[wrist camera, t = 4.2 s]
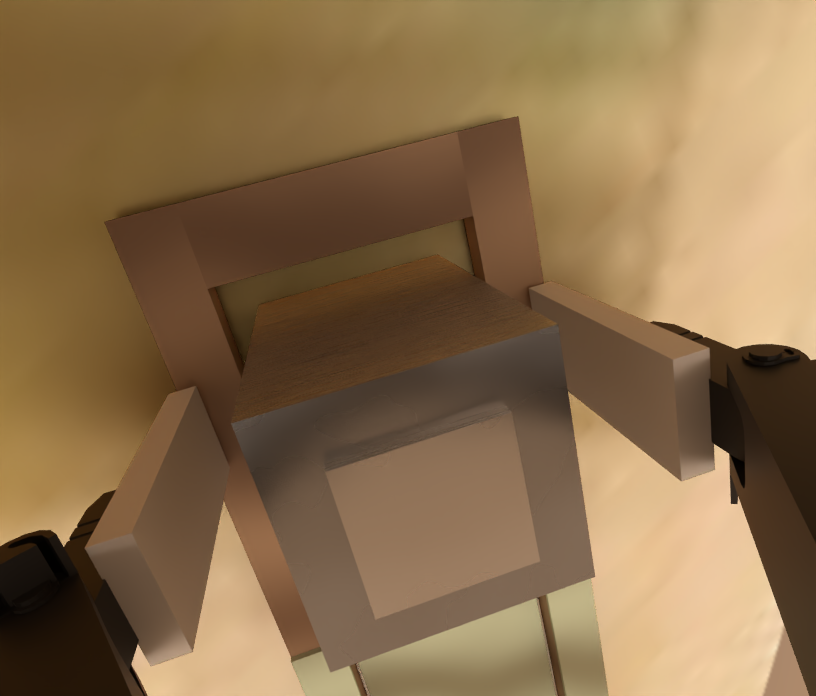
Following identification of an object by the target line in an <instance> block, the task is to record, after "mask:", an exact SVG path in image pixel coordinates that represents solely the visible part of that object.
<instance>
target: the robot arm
mask: <svg viewBox="0 0 816 696" xmlns="http://www.w3.org/2000/svg"><path fill="white" fill-rule="evenodd" d="M529 294H530V300H531V306H532V309H533V310H534V311H536V312H538V313H540V314H541V315H543V316H545V317H546V318H548V319H550V320H552V321H553V322H555V323H557V324H558V328H559V334H560V341H561V348H562V355H563V362H564V369H565V375H566V382H567V389H568V391H569V392H570V393H571V394H572V395H574V396H575V397H576V398H577V399H579V400H580V401H581V402H582V403H584V404H585V405H586V406H587V407H589V408H590V409H591V410H593V411H594V412H595V413H596V414H598V415H599V416H600V417H601V418H603V419H604V420H605V421H606V422H608V423H609V424H610V425H611V426H613V427H614V428H615V429H616V430H618V431H619V432H620V433H621V434H623V435H624V436H625V437H626V438H628V439H629V440H630V441H631V442H633V443H634V444H635V445H636V446H638V447H639V448H640V449H641V450H643V451H644V452H645V453H646V454H648V455H649V456H650V457H651V458H653V459H654V460H655V461H656V462H658V463H659V464H660V465H662V466H663V467H664V468H665V469H667V470H668V471H669V472H670V473H672V474H673V475H674V476H675V477H677V478H678V479H679V480H680V481H684V480H687V479H690V478H693V477H696V476H698V475H701V474H704V473H707V472H710V471H713V470H715V463H714V444H715V445H717V446H718V447H720V448H721V449H723V450H724V451H726V452H728V453H729V457H730V488H731V504H737V502H738V496H739V499H740V502H741V505H742V508H743V510H744V513H745V516H746V519H747V522H748V524H749V527H750V530H751V533H752V536H753V539H754V541H755V544H756V547H757V550H758V553H759V555H760V558H761V561H762V564H763V567H764V569H765V572H766V575H767V578H768V581H769V583H770V586H771V589H772V592H773V595H774V597H775V600H776V603H777V606H778V609H779V611H780V614H781V617H782V620H783V623H784V625H785V628H786V631H787V634H788V637H789V639H790V642H791V645H792V648H793V650H794V654H795V656H796V659H797V662H798V665H799V668H800V670H801V673H802V676H803V679H804V681H805V684H806V687H807V690H808V693H809V696H816V360H810V359H809V358H808V356H807V355H806V354H804V353H803V352H801V351H800V350H798V349H795V348H791V347H788V346H782V345H774V344H758V345H751V346H744V347H741V348H738V349H734V348H732V347H729V346H727V345H724V344H722V343H719V342H717V341H714V340H712V339H710V338H707V337H704V338H703V336H702V335H700V334H697V333H695V332H690V330H687V329H685V328H682V327H680V326H677V325H675V324H668V323H662V322H655V321H653V322H647V321H645V320H642V319H640V318H638V317H635V316H633V315H631V314H628V313H626V312H624V311H621V310H619V309H617V308H614V307H612V306H610V305H607V304H605V303H602V302H600V301H598V300H595V299H593V298H591V297H588V296H586V295H584V294H581V293H579V292H577V291H574V290H572V289H570V288H567V287H565V286H563V285H560V284H558V283H555V282H553V281H551V282H547V283H544V284H541V285H537V286H534V287H530V288H529ZM229 470H230V467H229V464H228V462H227V460H226V457H225V455H224V452H223V450H222V448H221V445H220V443H219V440H218V438H217V435H216V433H215V431H214V428H213V426H212V423H211V421H210V419H209V416H208V414H207V411H206V409H205V406H204V404H203V402H202V399H201V397H200V394H199V392H198V390H197V387H196V386H194V387H190V388H187V389H183V390H180V391H177V392H173V393H170V394H168V396H167V398H166V399H165V401H164V403H163V405H162V407H161V409H160V410H159V412H158V414H157V416H156V418H155V420H154V422H153V423H152V425H151V427H150V429H149V431H148V433H147V434H146V436H145V438H144V440H143V442H142V444H141V445H140V447H139V449H138V451H137V453H136V455H135V456H134V458H133V460H132V462H131V464H130V466H129V467H128V469H127V471H126V473H125V475H124V477H123V478H122V480H121V482H120V484H119V486H118V488H117V489H116V490H114V491H110V492H107V493H104V494H103V495H102V496H101V497H100V498H99V499H97V500H96V501H95V502H94V503H93V504H92V505H91V506H90V507H89V508H88V509H87V510H86V511H85V513H84V515H83V516H82V518H81V520H80V521H79V523H78V525H77V527H78V528H75V530H74V531H73V533H72V535H71V536H70V538H69V539H70V541H68V542H67V543H66V545H65V546H64V547H63V545H62V543H61V542H60V540H59V538H58V536H57V535H56V534H55V533H54V532H52V531H51V530H39V531H36V532H32V533H28V534H25V535H22V536H20V537H18V538H16V539H14V540H11V541H9V542H7V543H5V544H4V545H2V546H0V696H147V694H146V691H145V689H144V687H143V685H142V683H141V681H140V679H139V677H138V675H137V674H136V672H135V670H134V669H133V667H132V665H131V663H132V660H133V657H134V654H135V651H136V648H137V645H139V646H140V648H141V650H142V652H143V653H144V655H145V657H146V659H147V661H148V662H149V664H150V666H154V665H156V664H159V663H162V662H165V661H168V660H171V659H174V658H177V657H179V656H182V655H185V654H188V653H191V652H193V648H194V643H195V638H196V633H197V628H198V623H199V618H200V613H201V608H202V603H203V598H204V594H205V589H206V584H207V579H208V574H209V569H210V564H211V559H212V554H213V549H214V544H215V539H216V534H217V529H218V525H219V520H220V515H221V510H222V505H223V500H224V495H225V490H226V485H227V480H228V475H229Z"/></svg>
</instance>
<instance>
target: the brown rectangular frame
mask: <svg viewBox="0 0 816 696" xmlns="http://www.w3.org/2000/svg"><path fill="white" fill-rule="evenodd" d="M460 219H464V222H465V227H466V233H467V238H468V243H469V248H470V253H471V258H472V263H473V268H474V273H475V276H476V277H477V278H479V279H481V280H483V281H484V282H486V283H488V284H489V285H491V286H493V287H495V288H496V289H498V290H500V291H502V292H503V293H505V294H507V295H508V296H510V297H512V298H514V299H515V300H517V301H519V302H521V303H522V304H524V305H526V306H527V307H529V308H531V309H532V306H531V300H530V294H529V288H530V287H534V286H537V285H541V284H544V282H543V275H542V269H541V262H540V255H539V249H538V242H537V236H536V229H535V223H534V216H533V210H532V203H531V196H530V190H529V183H528V177H527V170H526V164H525V157H524V151H523V144H522V137H521V131H520V124H519V118H518V116H517V117H513V118H509V119H505V120H501V121H497V122H493V123H489V124H485V125H481V126H477V127H473V128H469V129H465V130H461V131H458V132H454V133H450V134H446V135H442V136H438V137H434V138H430V139H426V140H422V141H418V142H414V143H411V144H407V145H403V146H399V147H395V148H391V149H387V150H383V151H379V152H375V153H371V154H367V155H364V156H360V157H356V158H352V159H348V160H344V161H340V162H336V163H332V164H328V165H324V166H320V167H317V168H313V169H309V170H305V171H301V172H297V173H293V174H289V175H285V176H281V177H277V178H274V179H270V180H266V181H262V182H258V183H254V184H250V185H246V186H242V187H238V188H234V189H230V190H227V191H223V192H219V193H215V194H211V195H207V196H203V197H199V198H195V199H191V200H187V201H183V202H180V203H176V204H172V205H168V206H164V207H160V208H156V209H152V210H148V211H144V212H140V213H136V214H133V215H129V216H125V217H121V218H117V219H113V220H110V221H106V222H105V225H106V227H107V229H108V232H109V234H110V236H111V239H112V241H113V243H114V246H115V248H116V250H117V253H118V255H119V257H120V260H121V262H122V264H123V267H124V269H125V271H126V274H127V276H128V278H129V281H130V283H131V285H132V288H133V290H134V292H135V295H136V297H137V299H138V302H139V304H140V306H141V309H142V311H143V313H144V316H145V318H146V320H147V323H148V325H149V327H150V330H151V332H152V334H153V337H154V339H155V341H156V344H157V346H158V348H159V351H160V353H161V355H162V357H163V360H164V362H165V364H166V367H167V369H168V371H169V374H170V376H171V378H172V381H173V383H174V385H175V388H176V390H177V391H180V390H183V389H187V388H190V387H194V386H196V387H197V390H198V392H199V394H200V397H201V399H202V402H203V404H204V406H205V409H206V411H207V414H208V416H209V419H210V421H211V423H212V426H213V428H214V431H215V433H216V435H217V438H218V440H219V443H220V445H221V448H222V450H223V452H224V455H225V457H226V460H227V462H228V464H229V467H230V470H229V475H228V480H227V485H226V490H225V495H224V502H225V504H226V507H227V509H228V511H229V514H230V516H231V518H232V521H233V523H234V525H235V528H236V530H237V532H238V535H239V537H240V539H241V542H242V544H243V546H244V549H245V551H246V553H247V556H248V558H249V560H250V563H251V565H252V567H253V570H254V572H255V574H256V577H257V579H258V581H259V584H260V586H261V588H262V590H263V593H264V595H265V597H266V600H267V602H268V604H269V607H270V609H271V611H272V614H273V616H274V618H275V621H276V623H277V625H278V628H279V630H280V632H281V635H282V637H283V639H284V642H285V644H286V646H287V649H288V651H289V653H290V656H291V663H292V665H293V668H294V670H295V672H296V675H297V677H298V679H299V682H300V684H301V686H302V688H303V691H304V693H305V695H306V696H367V694H366V691H365V688H364V686H363V683H362V680H361V678H360V675H359V672H358V670H357V667H356V664H353V665H350V666H348V667H345V668H342V669H339V670H337V671H334V672H331V673H330V670H329V668H328V665H327V663H326V660H325V658H324V655H323V653H322V650H321V648H320V645H319V643H318V640H317V638H316V635H315V633H314V630H313V627H312V625H311V622H310V620H309V617H308V615H307V612H306V610H305V607H304V605H303V602H302V600H301V597H300V595H299V592H298V590H297V587H296V585H295V582H294V580H293V577H292V575H291V572H290V570H289V567H288V565H287V562H286V560H285V557H284V555H283V552H282V550H281V547H280V545H279V542H278V540H277V537H276V535H275V532H274V530H273V527H272V525H271V522H270V520H269V517H268V515H267V512H266V510H265V507H264V505H263V502H262V500H261V497H260V495H259V492H258V490H257V487H256V485H255V482H254V480H253V477H252V475H251V472H250V470H249V467H248V465H247V462H246V460H245V457H244V455H243V452H242V450H241V447H240V445H239V442H238V440H237V437H236V435H235V432H234V430H233V427H232V425H231V421H232V417H233V413H234V409H235V404H236V400H237V396H238V392H239V387H240V383H241V379H242V375H243V370H244V365H243V362H242V359H241V357H240V354H239V351H238V349H237V346H236V343H235V341H234V338H233V335H232V333H231V330H230V327H229V325H228V322H227V319H226V317H225V314H224V311H223V309H222V306H221V303H220V301H219V298H218V295H217V293H216V290H215V287H216V286H220V285H223V284H227V283H231V282H234V281H238V280H242V279H245V278H249V277H253V276H256V275H260V274H263V273H267V272H271V271H274V270H278V269H282V268H285V267H289V266H293V265H296V264H300V263H304V262H307V261H311V260H314V259H318V258H322V257H325V256H329V255H333V254H336V253H340V252H344V251H347V250H351V249H354V248H358V247H362V246H365V245H369V244H373V243H376V242H380V241H384V240H387V239H391V238H395V237H398V236H402V235H405V234H409V233H413V232H416V231H420V230H424V229H427V228H431V227H435V226H438V225H442V224H445V223H449V222H453V221H456V220H460ZM539 602H540V607H541V612H542V617H543V622H544V627H545V632H546V638H547V643H548V648H549V653H550V658H551V663H552V668H553V673H554V678H555V683H556V688H557V693H558V696H609V695H608V688H607V682H606V675H605V668H604V662H603V655H602V649H601V642H600V635H599V629H598V622H597V615H596V609H595V602H594V595H593V589H592V582H591V578H590V579H587V580H585V581H582V582H579V583H576V584H574V585H571V586H568V587H565V588H563V589H560V590H557V591H554V592H552V593H549V594H546V595H543V596H541V597H539ZM359 666H360V669H361V671H362V674H363V677H364V680H365V682H366V685H367V688H368V690H369V693H370V696H556V694H555V689H554V684H553V679H552V674H551V669H550V664H549V659H548V654H547V649H546V644H545V639H544V634H543V629H542V624H541V619H540V614H539V609H538V604H537V599H536V598H535V599H532V600H530V601H527V602H524V603H521V604H518V605H516V606H513V607H510V608H507V609H505V610H502V611H499V612H496V613H494V614H491V615H488V616H485V617H483V618H480V619H477V620H474V621H472V622H469V623H466V624H463V625H461V626H458V627H455V628H452V629H450V630H447V631H444V632H441V633H439V634H436V635H433V636H430V637H428V638H425V639H422V640H419V641H416V642H414V643H411V644H408V645H405V646H403V647H400V648H397V649H394V650H392V651H389V652H386V653H383V654H381V655H378V656H375V657H372V658H370V659H367V660H364V661H361V662H359Z"/></svg>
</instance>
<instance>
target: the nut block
mask: <svg viewBox="0 0 816 696" xmlns="http://www.w3.org/2000/svg"><path fill="white" fill-rule="evenodd" d="M231 425H232V427H233V430H234V432H235V435H236V437H237V440H238V442H239V445H240V447H241V450H242V452H243V455H244V457H245V460H246V462H247V465H248V467H249V470H250V472H251V475H252V477H253V480H254V482H255V485H256V487H257V490H258V492H259V495H260V497H261V500H262V502H263V505H264V507H265V510H266V512H267V515H268V517H269V520H270V522H271V525H272V527H273V530H274V532H275V535H276V537H277V540H278V542H279V545H280V547H281V550H282V552H283V555H284V557H285V560H286V562H287V565H288V567H289V570H290V572H291V575H292V577H293V580H294V582H295V585H296V587H297V590H298V592H299V595H300V597H301V600H302V602H303V605H304V607H305V610H306V612H307V615H308V617H309V620H310V622H311V625H312V627H313V630H314V633H315V635H316V638H317V640H318V643H319V645H320V648H321V650H322V653H323V655H324V658H325V660H326V663H327V665H328V668H329V670H330V673H331V672H334V671H337V670H339V669H342V668H345V667H348V666H350V665H353V664H356V663H359V662H361V661H364V660H367V659H370V658H372V657H375V656H378V655H381V654H383V653H386V652H389V651H392V650H394V649H397V648H400V647H403V646H405V645H408V644H411V643H414V642H416V641H419V640H422V639H425V638H428V637H430V636H433V635H436V634H439V633H441V632H444V631H447V630H450V629H452V628H455V627H458V626H461V625H463V624H466V623H469V622H472V621H474V620H477V619H480V618H483V617H485V616H488V615H491V614H494V613H496V612H499V611H502V610H505V609H507V608H510V607H513V606H516V605H518V604H521V603H524V602H527V601H530V600H532V599H535V598H538V597H541V596H543V595H546V594H549V593H552V592H554V591H557V590H560V589H563V588H565V587H568V586H571V585H574V584H576V583H579V582H582V581H585V580H587V579H590V578H593V577H595V573H594V566H593V559H592V552H591V546H590V539H589V532H588V525H587V518H586V512H585V505H584V498H583V491H582V484H581V477H580V471H579V464H578V457H577V450H576V443H575V437H574V430H573V423H572V416H571V409H570V403H569V396H568V389H567V382H566V375H565V369H564V362H563V355H562V348H561V341H560V334H559V328H558V324H557V323H555V322H553V321H552V320H550V319H548V318H546V317H545V316H543V315H541V314H540V313H538V312H536V311H534V310H533V309H531V308H529V307H527V306H526V305H524V304H522V303H521V302H519V301H517V300H515V299H514V298H512V297H510V296H508V295H507V294H505V293H503V292H502V291H500V290H498V289H496V288H495V287H493V286H491V285H489V284H488V283H486V282H484V281H483V280H481V279H479V278H477V277H476V276H474V275H472V274H470V273H469V272H467V271H465V270H464V269H462V268H460V267H458V266H457V265H455V264H453V263H451V262H450V261H448V260H446V259H445V258H443V257H441V256H439V255H434V256H431V257H427V258H423V259H420V260H416V261H413V262H409V263H406V264H402V265H398V266H395V267H391V268H388V269H384V270H381V271H377V272H374V273H370V274H366V275H363V276H359V277H356V278H352V279H349V280H345V281H342V282H338V283H334V284H331V285H327V286H324V287H320V288H317V289H313V290H309V291H306V292H302V293H299V294H295V295H292V296H288V297H285V298H281V299H277V300H274V301H270V302H267V303H263V304H260V305H259V307H258V311H257V315H256V319H255V324H254V328H253V332H252V336H251V341H250V345H249V349H248V353H247V358H246V362H245V366H244V370H243V375H242V379H241V383H240V387H239V392H238V396H237V400H236V404H235V409H234V413H233V417H232V421H231Z"/></svg>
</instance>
